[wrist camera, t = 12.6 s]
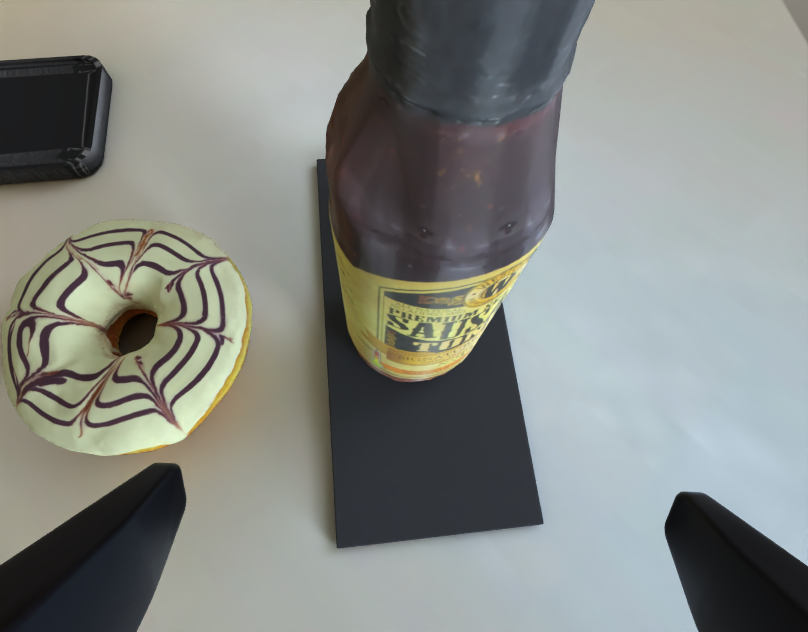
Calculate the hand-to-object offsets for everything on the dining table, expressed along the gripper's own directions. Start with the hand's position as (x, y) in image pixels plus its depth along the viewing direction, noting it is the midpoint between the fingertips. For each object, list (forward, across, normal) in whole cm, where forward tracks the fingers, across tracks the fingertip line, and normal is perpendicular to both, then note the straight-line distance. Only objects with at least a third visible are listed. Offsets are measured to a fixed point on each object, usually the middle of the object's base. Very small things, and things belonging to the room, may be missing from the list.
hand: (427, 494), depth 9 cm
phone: (+22, +26, -3) cm, 34 cm away
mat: (+15, 0, +4) cm, 16 cm away
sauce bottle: (+15, 0, +4) cm, 15 cm away
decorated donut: (+14, +13, +6) cm, 20 cm away
